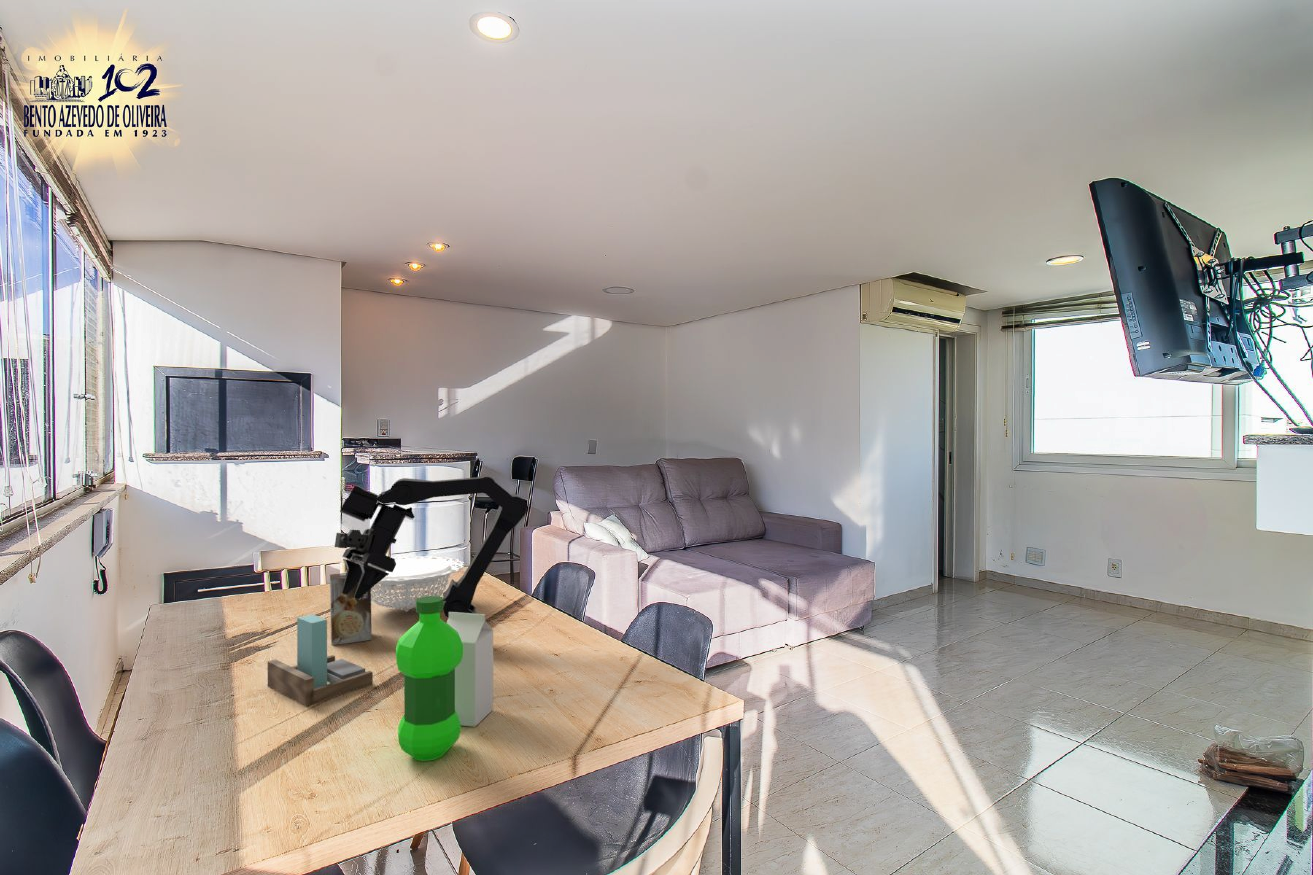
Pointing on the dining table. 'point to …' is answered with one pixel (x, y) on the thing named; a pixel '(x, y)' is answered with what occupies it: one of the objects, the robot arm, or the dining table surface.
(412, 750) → the plastic bottle
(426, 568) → the colander
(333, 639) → the coffee box
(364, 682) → the frame
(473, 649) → the milk carton
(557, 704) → the dining table surface
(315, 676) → the teal rectangular block
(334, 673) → the offcut stack
